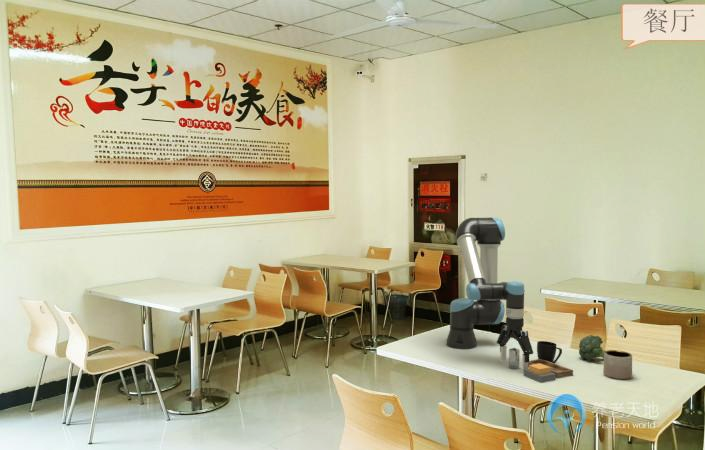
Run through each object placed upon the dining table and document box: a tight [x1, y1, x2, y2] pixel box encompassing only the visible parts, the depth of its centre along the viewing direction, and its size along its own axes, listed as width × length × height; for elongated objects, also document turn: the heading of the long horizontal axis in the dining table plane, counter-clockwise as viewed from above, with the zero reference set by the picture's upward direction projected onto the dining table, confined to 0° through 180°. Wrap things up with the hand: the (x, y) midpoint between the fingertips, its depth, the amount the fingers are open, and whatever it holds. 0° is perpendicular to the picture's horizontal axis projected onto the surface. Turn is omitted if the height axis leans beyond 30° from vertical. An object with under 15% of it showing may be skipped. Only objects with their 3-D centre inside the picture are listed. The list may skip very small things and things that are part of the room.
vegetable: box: [578, 334, 607, 361], centre depth 254 cm, size 12×13×15 cm
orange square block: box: [528, 363, 550, 375], centre depth 229 cm, size 6×6×3 cm
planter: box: [602, 349, 633, 381], centre depth 231 cm, size 11×11×10 cm
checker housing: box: [523, 368, 557, 384], centre depth 229 cm, size 10×8×2 cm
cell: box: [508, 347, 520, 370], centre depth 242 cm, size 4×4×9 cm
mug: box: [536, 340, 563, 364], centre depth 248 cm, size 8×12×10 cm
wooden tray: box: [528, 358, 574, 379], centre depth 238 cm, size 18×9×2 cm, turn 26°
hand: (514, 364), depth 243 cm, fingers open, 13 cm apart
